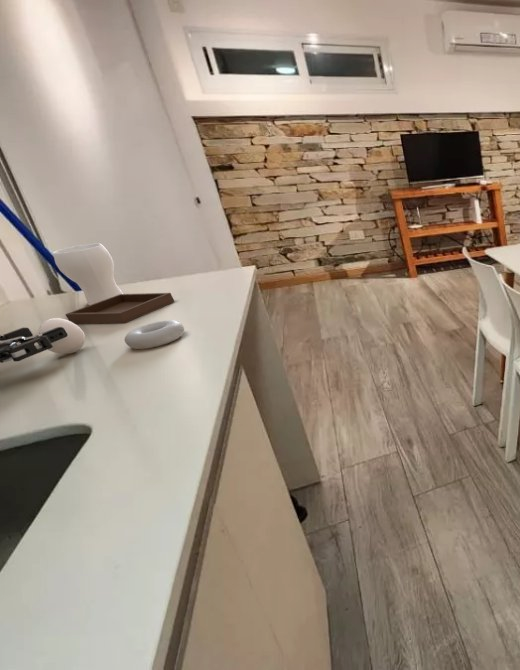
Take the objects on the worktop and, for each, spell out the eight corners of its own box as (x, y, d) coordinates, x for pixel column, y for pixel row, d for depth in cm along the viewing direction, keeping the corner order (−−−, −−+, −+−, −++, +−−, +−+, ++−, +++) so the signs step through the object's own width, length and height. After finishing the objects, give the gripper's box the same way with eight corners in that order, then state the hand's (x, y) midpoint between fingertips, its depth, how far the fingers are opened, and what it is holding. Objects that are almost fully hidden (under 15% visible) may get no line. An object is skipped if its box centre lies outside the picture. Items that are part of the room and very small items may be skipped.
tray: (70, 323, 118) (64, 314, 116) (124, 302, 130) (120, 294, 129) (125, 322, 116) (119, 313, 115) (174, 301, 128) (170, 292, 127)
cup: (132, 290, 139) (106, 240, 133) (130, 299, 132) (102, 247, 125) (83, 301, 133) (53, 249, 127) (78, 311, 126) (46, 256, 119)
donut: (140, 356, 98) (195, 335, 105) (131, 341, 96) (188, 321, 104) (122, 347, 103) (175, 328, 110) (113, 333, 101) (168, 314, 109)
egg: (83, 355, 100) (62, 321, 97) (44, 362, 98) (21, 328, 94) (97, 343, 105) (78, 310, 102) (61, 350, 103) (39, 316, 100)
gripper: (-40, 353, 81) (65, 314, 95) (-107, 353, 82) (6, 315, 97) (-12, 390, 84) (86, 347, 98) (-77, 389, 86) (28, 347, 100)
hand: (46, 331), depth 97 cm, fingers open, 8 cm apart
